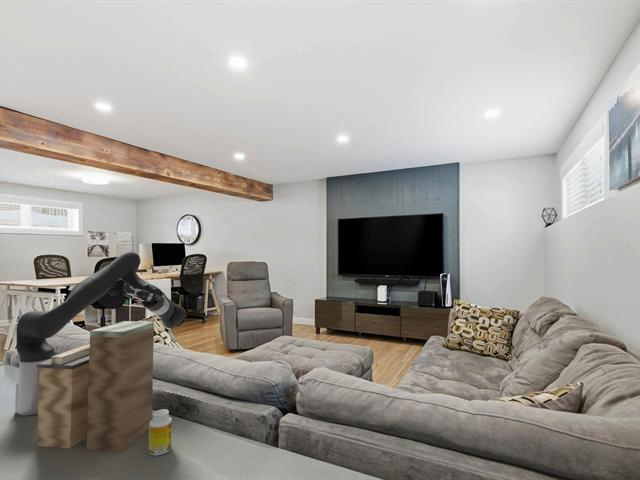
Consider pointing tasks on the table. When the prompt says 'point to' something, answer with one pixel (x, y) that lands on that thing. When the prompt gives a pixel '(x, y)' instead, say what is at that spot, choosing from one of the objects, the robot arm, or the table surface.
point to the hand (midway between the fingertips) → (134, 286)
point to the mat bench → (63, 403)
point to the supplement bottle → (160, 432)
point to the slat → (70, 355)
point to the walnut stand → (119, 384)
